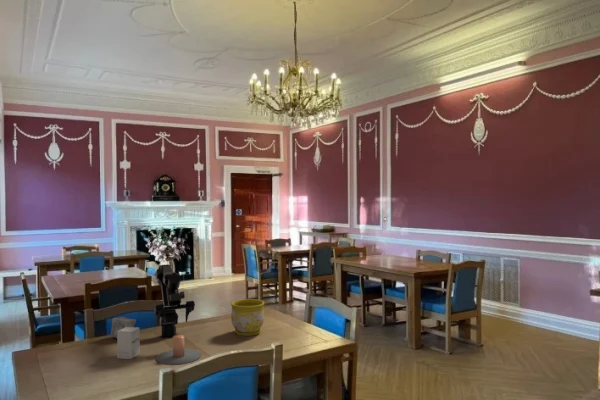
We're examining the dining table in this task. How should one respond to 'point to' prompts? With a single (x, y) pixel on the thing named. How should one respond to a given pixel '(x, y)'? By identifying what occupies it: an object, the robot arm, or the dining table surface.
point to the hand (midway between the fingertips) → (176, 323)
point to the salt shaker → (178, 346)
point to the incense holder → (121, 324)
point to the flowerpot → (247, 316)
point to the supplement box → (128, 342)
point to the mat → (168, 358)
